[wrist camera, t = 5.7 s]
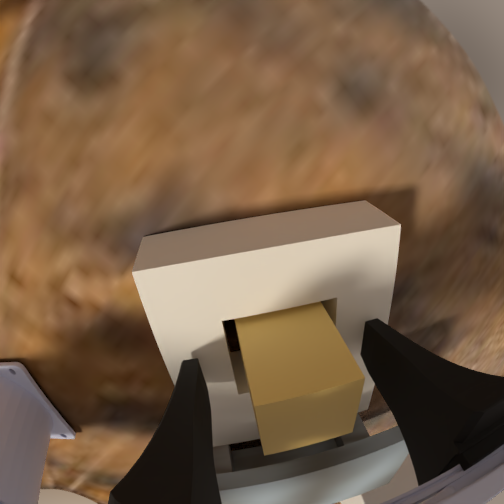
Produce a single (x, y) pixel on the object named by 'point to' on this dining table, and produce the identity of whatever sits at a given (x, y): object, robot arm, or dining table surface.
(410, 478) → the milk carton
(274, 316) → the peg
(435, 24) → the dining table surface
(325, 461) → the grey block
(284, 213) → the socket
